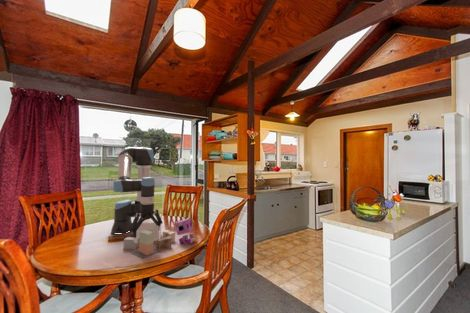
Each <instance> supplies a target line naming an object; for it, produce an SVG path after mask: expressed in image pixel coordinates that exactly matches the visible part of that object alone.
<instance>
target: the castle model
mask: <svg viewBox="0 0 470 313" xmlns="http://www.w3.org/2000/svg"><path fill="white" fill-rule="evenodd" d="M159 216H160V218H161V220H162V213H159ZM142 219H143V218H142ZM155 219H156V220H157V218H156V217H155ZM138 221H139V220H138ZM157 221H158V220H157ZM155 225H156V224H155V223H154V222H153V220H152V219H151V218H150V219H147V220H144V221H143V222H142V224H141V225H140V227H139V228H138V230H137V231H138V238H140V232H141V231H144V230H147V231H150V232H154V242H157V239H159V238H162V236H163V231H162V224H161V225H160V226H159V231H158V237H156V236H155ZM139 242H140V240H139Z"/></svg>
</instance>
